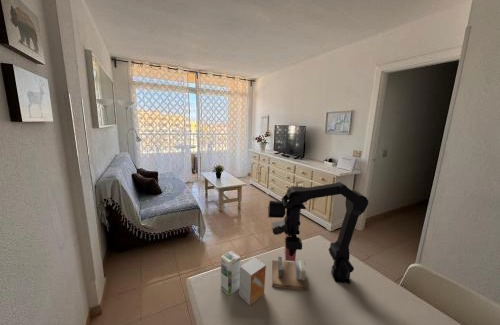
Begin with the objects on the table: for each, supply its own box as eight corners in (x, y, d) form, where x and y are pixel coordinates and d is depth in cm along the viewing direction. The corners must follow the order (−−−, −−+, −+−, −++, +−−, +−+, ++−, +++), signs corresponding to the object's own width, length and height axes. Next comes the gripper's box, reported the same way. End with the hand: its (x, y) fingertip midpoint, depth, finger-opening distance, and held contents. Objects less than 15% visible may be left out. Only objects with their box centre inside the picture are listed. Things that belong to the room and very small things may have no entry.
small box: (250, 306, 74) (251, 275, 72) (238, 295, 79) (239, 266, 76) (264, 293, 80) (266, 264, 77) (253, 284, 84) (254, 256, 82)
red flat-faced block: (293, 252, 90) (295, 233, 88) (295, 261, 84) (296, 242, 83) (284, 251, 91) (285, 233, 89) (285, 260, 85) (286, 241, 83)
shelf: (301, 266, 96) (302, 263, 95) (306, 290, 82) (307, 287, 82) (272, 263, 97) (272, 260, 97) (272, 286, 84) (272, 283, 83)
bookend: (281, 265, 94) (281, 257, 93) (281, 278, 86) (282, 269, 85) (277, 265, 94) (278, 256, 93) (278, 278, 86) (279, 269, 85)
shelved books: (302, 268, 92) (302, 259, 91) (304, 280, 85) (305, 270, 84) (294, 267, 92) (295, 258, 92) (296, 279, 86) (297, 270, 85)
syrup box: (220, 288, 82) (220, 256, 79) (231, 280, 86) (231, 249, 83) (229, 296, 78) (229, 263, 75) (240, 287, 82) (241, 256, 79)
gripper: (273, 206, 94) (271, 237, 97) (273, 227, 75) (271, 264, 79) (297, 208, 93) (295, 239, 96) (304, 230, 74) (300, 267, 78)
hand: (290, 251), depth 87 cm, fingers closed on red flat-faced block, 6 cm apart
